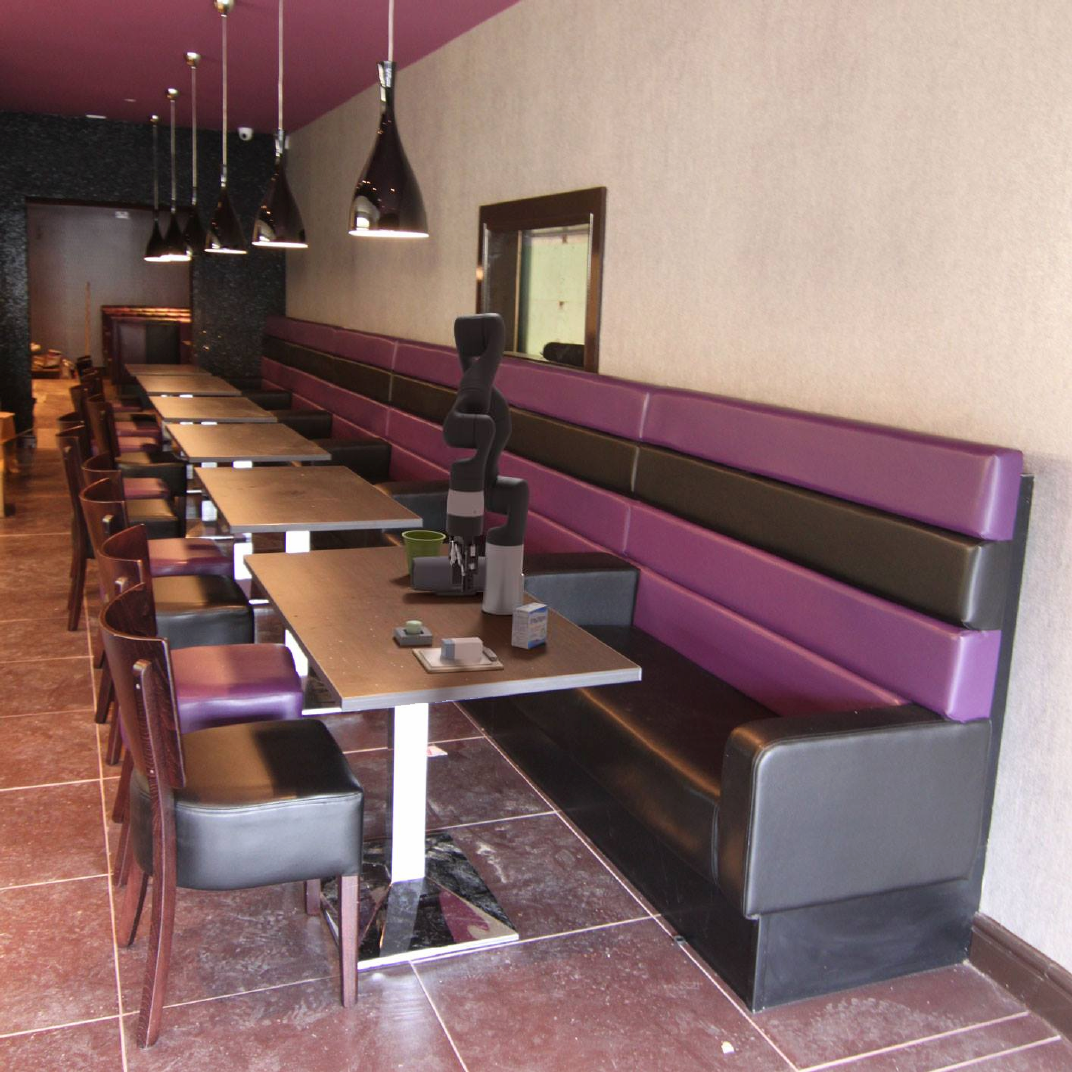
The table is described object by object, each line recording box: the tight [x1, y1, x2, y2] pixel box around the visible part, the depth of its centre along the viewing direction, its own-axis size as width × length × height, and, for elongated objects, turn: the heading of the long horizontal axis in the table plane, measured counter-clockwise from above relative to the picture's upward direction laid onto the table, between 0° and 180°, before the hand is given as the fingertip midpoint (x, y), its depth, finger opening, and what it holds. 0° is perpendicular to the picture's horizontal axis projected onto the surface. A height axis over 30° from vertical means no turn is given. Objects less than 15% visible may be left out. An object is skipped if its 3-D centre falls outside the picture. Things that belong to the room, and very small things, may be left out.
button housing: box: [393, 626, 434, 647], centre depth 247 cm, size 7×7×2 cm
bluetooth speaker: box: [409, 555, 485, 596], centre depth 288 cm, size 23×9×10 cm, turn 106°
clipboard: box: [412, 645, 505, 674], centre depth 236 cm, size 16×14×1 cm
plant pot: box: [401, 530, 447, 576], centre depth 305 cm, size 12×12×11 cm
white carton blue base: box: [440, 636, 484, 660], centre depth 235 cm, size 8×4×4 cm, turn 109°
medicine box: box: [511, 602, 549, 650], centre depth 250 cm, size 8×4×9 cm, turn 148°
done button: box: [405, 620, 423, 635], centre depth 247 cm, size 3×3×3 cm
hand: (461, 588), depth 233 cm, fingers open, 7 cm apart
